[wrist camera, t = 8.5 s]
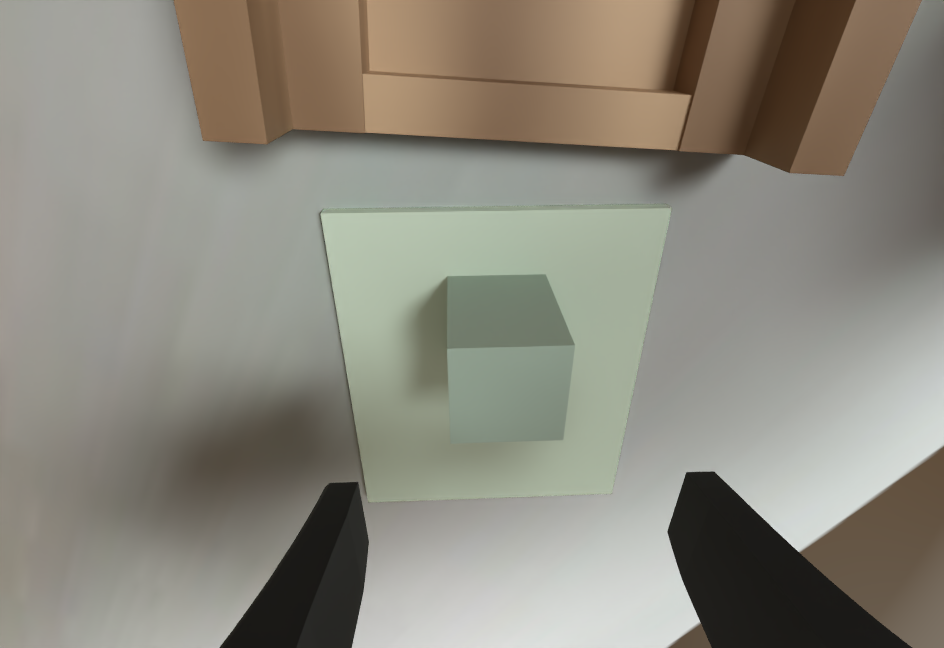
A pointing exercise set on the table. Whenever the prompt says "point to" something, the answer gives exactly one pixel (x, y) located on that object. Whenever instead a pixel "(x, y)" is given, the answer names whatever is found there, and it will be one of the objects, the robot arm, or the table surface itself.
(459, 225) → the lid
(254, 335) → the table surface
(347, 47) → the box
